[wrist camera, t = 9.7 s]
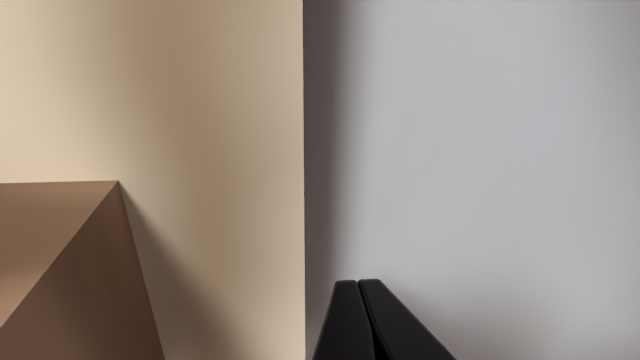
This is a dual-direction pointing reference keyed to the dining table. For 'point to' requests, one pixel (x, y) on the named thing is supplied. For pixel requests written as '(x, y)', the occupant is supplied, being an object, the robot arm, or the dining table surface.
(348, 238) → the dining table surface
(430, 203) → the dining table surface
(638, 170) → the dining table surface
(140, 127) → the board
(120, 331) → the walnut cube
